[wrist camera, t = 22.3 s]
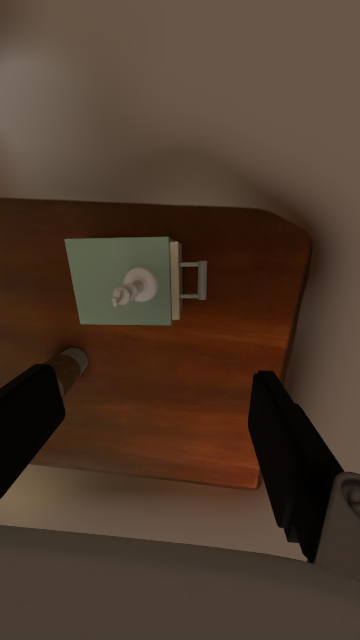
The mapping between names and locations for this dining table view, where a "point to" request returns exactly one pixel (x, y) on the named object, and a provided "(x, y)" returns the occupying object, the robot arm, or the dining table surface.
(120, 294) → the chess piece
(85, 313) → the cabinet
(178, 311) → the drawer
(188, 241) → the dining table surface
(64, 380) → the coffee cup
